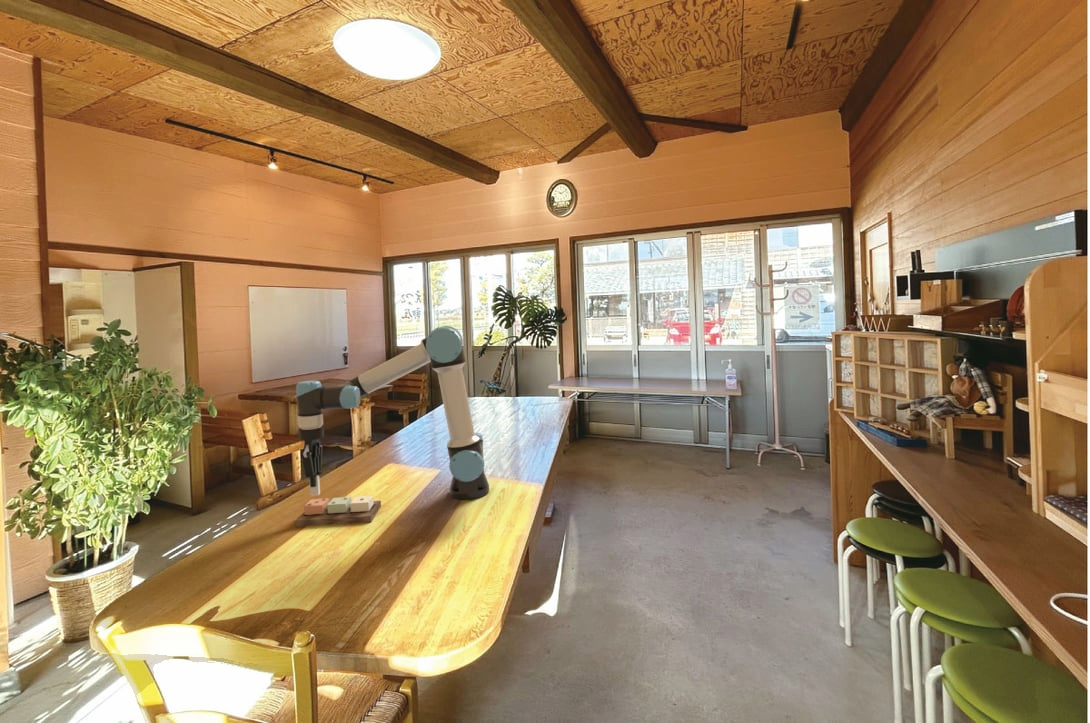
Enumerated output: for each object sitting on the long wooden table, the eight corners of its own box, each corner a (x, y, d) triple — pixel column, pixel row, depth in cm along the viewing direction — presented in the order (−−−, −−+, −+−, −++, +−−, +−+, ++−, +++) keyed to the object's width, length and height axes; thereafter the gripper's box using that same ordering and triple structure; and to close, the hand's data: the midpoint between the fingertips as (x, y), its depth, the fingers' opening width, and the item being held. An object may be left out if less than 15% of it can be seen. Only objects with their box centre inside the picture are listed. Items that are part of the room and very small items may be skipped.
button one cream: (373, 503, 164) (373, 495, 164) (368, 510, 158) (368, 502, 158) (356, 504, 164) (355, 496, 164) (350, 512, 158) (350, 503, 158)
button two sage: (351, 505, 164) (351, 496, 163) (346, 512, 158) (345, 503, 157) (334, 506, 163) (333, 497, 163) (327, 513, 157) (327, 504, 157)
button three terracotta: (329, 506, 163) (329, 497, 163) (323, 513, 157) (322, 504, 157) (311, 507, 162) (311, 499, 162) (304, 514, 157) (303, 505, 156)
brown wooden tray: (381, 506, 168) (380, 500, 168) (371, 522, 155) (370, 515, 155) (311, 510, 166) (311, 504, 166) (296, 526, 153) (295, 520, 153)
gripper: (307, 422, 163) (311, 488, 165) (290, 432, 150) (295, 502, 152) (329, 422, 164) (333, 487, 166) (314, 431, 151) (319, 501, 153)
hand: (315, 494), depth 159 cm, fingers closed
